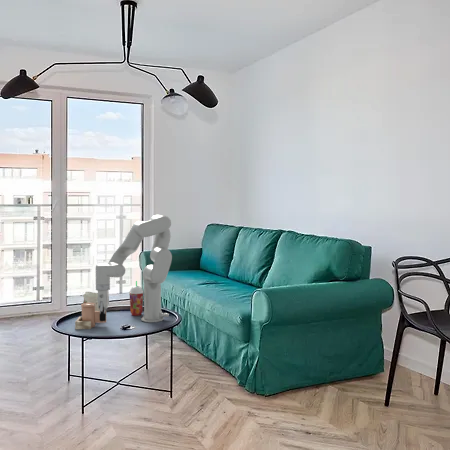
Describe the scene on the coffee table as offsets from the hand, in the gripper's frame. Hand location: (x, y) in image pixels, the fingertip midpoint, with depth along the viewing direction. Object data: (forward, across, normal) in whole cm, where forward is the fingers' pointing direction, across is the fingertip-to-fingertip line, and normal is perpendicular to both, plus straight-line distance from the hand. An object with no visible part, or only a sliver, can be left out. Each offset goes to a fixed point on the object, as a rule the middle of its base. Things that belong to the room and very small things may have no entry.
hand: (103, 320), depth 275 cm
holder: (+3, 0, +10) cm, 10 cm away
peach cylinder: (+3, 0, +5) cm, 6 cm away
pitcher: (+3, +17, +8) cm, 19 cm away
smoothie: (+3, +23, -16) cm, 28 cm away
